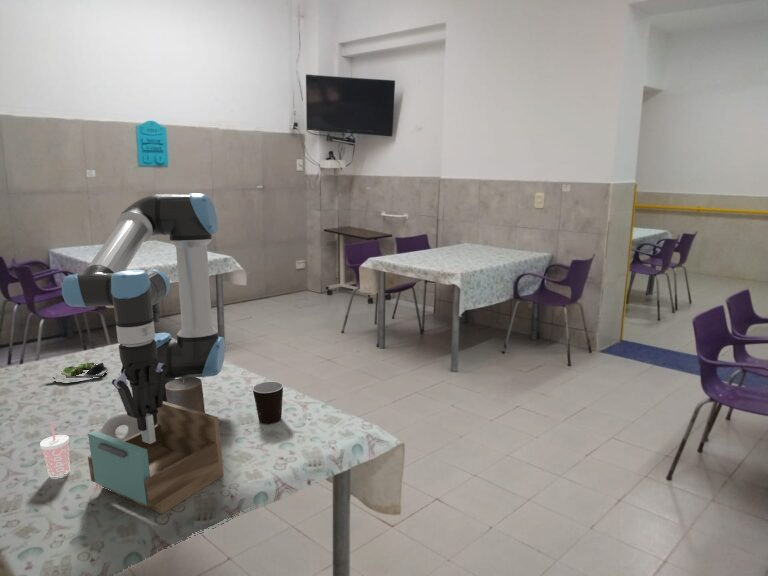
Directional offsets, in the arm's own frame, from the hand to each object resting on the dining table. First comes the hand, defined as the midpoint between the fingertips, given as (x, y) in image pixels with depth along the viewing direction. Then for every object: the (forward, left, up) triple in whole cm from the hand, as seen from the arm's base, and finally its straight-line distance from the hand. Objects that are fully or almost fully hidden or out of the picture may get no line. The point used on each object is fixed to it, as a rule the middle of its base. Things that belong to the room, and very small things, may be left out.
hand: (149, 441), depth 129 cm
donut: (-23, +8, -12) cm, 27 cm away
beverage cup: (-25, -8, -12) cm, 29 cm away
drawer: (0, +2, -12) cm, 12 cm away
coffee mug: (-1, +41, -12) cm, 43 cm away
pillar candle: (-17, +24, -12) cm, 32 cm away
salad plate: (-85, +35, -12) cm, 93 cm away
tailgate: (0, -8, -9) cm, 11 cm away
